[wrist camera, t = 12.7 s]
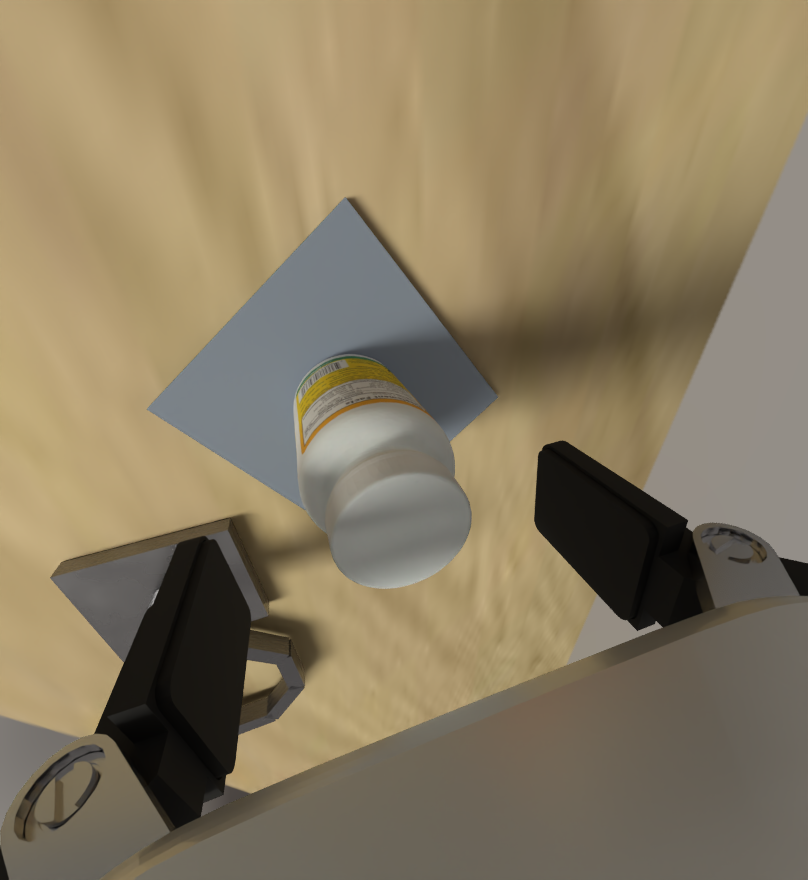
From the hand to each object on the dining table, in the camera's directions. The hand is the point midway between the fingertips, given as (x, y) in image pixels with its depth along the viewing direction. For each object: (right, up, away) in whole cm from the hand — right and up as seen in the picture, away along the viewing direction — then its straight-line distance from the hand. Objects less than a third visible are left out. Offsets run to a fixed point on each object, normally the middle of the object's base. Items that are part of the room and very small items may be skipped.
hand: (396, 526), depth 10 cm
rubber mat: (-3, +5, +8) cm, 10 cm away
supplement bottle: (-3, +4, +8) cm, 9 cm away
